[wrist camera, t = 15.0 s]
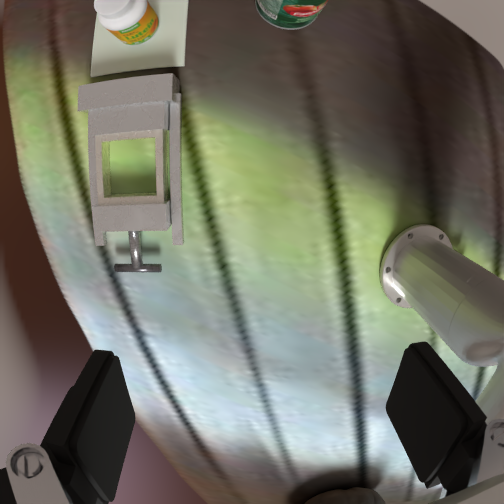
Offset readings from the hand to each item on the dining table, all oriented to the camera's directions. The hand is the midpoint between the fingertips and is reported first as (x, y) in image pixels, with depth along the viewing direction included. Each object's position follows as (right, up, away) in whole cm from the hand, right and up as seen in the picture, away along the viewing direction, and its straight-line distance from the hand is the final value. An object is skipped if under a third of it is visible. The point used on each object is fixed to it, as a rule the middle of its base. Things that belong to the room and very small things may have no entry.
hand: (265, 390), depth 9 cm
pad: (-14, +32, +20) cm, 40 cm away
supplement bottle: (-14, +31, +20) cm, 40 cm away
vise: (-14, +13, +27) cm, 33 cm away
